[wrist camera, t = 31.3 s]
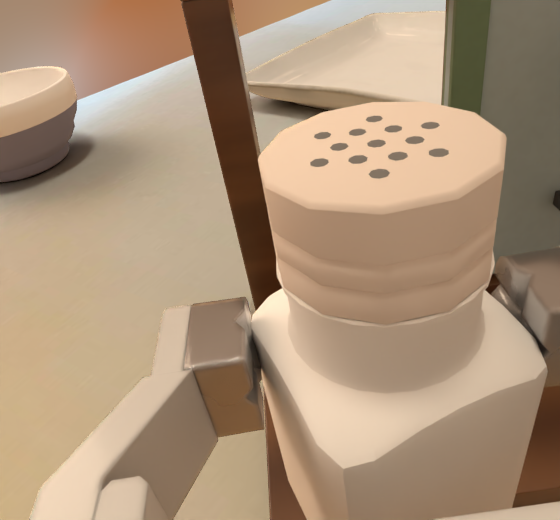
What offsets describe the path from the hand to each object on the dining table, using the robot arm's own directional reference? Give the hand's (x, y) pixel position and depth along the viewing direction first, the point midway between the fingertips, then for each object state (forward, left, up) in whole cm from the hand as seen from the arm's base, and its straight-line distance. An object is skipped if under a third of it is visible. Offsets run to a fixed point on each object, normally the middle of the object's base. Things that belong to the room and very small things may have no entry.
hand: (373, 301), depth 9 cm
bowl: (+49, +9, -12) cm, 51 cm away
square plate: (+38, -31, -12) cm, 51 cm away
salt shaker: (-1, 0, -6) cm, 6 cm away
